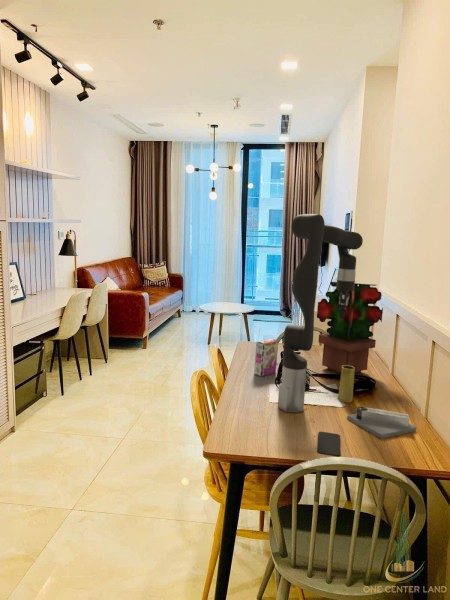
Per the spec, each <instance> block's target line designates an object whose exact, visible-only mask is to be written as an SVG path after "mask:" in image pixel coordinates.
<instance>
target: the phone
mask: <svg viewBox="0 0 450 600" xmlns="http://www.w3.org/2000/svg"><path fill="white" fill-rule="evenodd" d="M316 452H317V454H320V455H326V456H333V457H340V456H341V454H342V452H341V435H340V434H338V433H333V432H326V431H318V432H317V446H316Z"/></svg>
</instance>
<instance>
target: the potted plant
mask: <svg viewBox="0 0 450 600" xmlns="http://www.w3.org/2000/svg"><path fill="white" fill-rule="evenodd" d="M336 285H337V281H330V286H331V287H333V288H334V290H333V291H327V292H325V297H326V298H328V300H327V299H326V298H321V300H320V301H318V302H317V307H316V308H317V312H316V318H317V319H319V321H320V322H321V323H324V322H326V320H328V321H327V323H326V325H327V326H328V328H326V329H325V331H326V333H323V334H319V335H318V343H319V344H322V345H323V350H322V359H321V360H322V361H321V366H323V367H325V368H326V369H327V371H330V372H333V373H335V372H336V374H338V373H339V374H338V375H341V371H342V366H343V365H349V366H353V367H354V368H355V373H354V375H358V374H361V373H362V371H367V370H368V363H369V362H368V361H369V353H370V349H375V348H376V344H377V343H376V341H377V339H374V338H372V337H373V336H374V332H373V331H370V329H371V327H373V326H375V324H378V323H379V321H380V323H382V321H383V313H384V307H382V308H380V307H379V306H378V305H375V304H377V302H379V301H381V300H382V296H383V295H382V292H381V291H380V290H379V289H378V288H377V287H376V286H377V284H370V283H356V282H355V286H354V291H349V293H348V295H349V301H348V305H347V306H346V307H347V309H346V315H345V317H344V318H340V317H339V313H340V308H339V306H340V304H339V300H340V299H339V296H340V294H342V291H341V290H337V289H336Z"/></svg>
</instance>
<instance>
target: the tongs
mask: <svg viewBox="0 0 450 600" xmlns="http://www.w3.org/2000/svg"><path fill="white" fill-rule="evenodd" d="M355 412H356V413H355V414H356V418H358V419H360V420H366V421H372V422H377V423H383V424H389V425H394V426H400V427H406V428H408V423H409V424H410V422H409V421H410V416H409V414H408V413H403V412H402V413H401V412H396V411H391V410H385V409H382V410H379V409H378V408H371V407H367V406H357V407H356V411H355Z"/></svg>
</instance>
